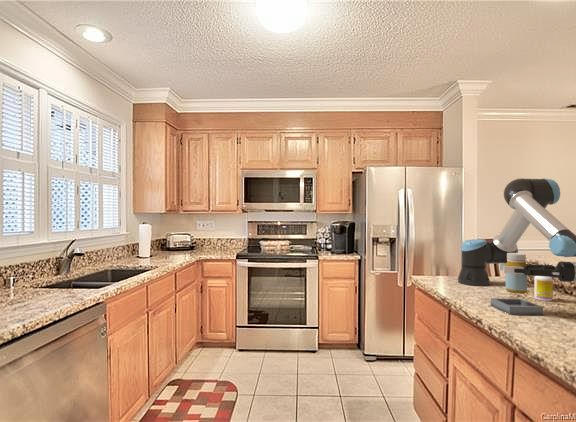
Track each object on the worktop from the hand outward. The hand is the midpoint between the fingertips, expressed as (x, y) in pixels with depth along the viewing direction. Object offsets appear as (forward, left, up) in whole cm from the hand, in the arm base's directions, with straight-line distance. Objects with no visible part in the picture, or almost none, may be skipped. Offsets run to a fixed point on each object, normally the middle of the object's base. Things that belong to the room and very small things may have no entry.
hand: (501, 268), depth 139 cm
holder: (+2, +5, -16) cm, 17 cm away
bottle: (+2, +5, -9) cm, 10 cm away
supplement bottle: (-15, +28, -16) cm, 36 cm away
